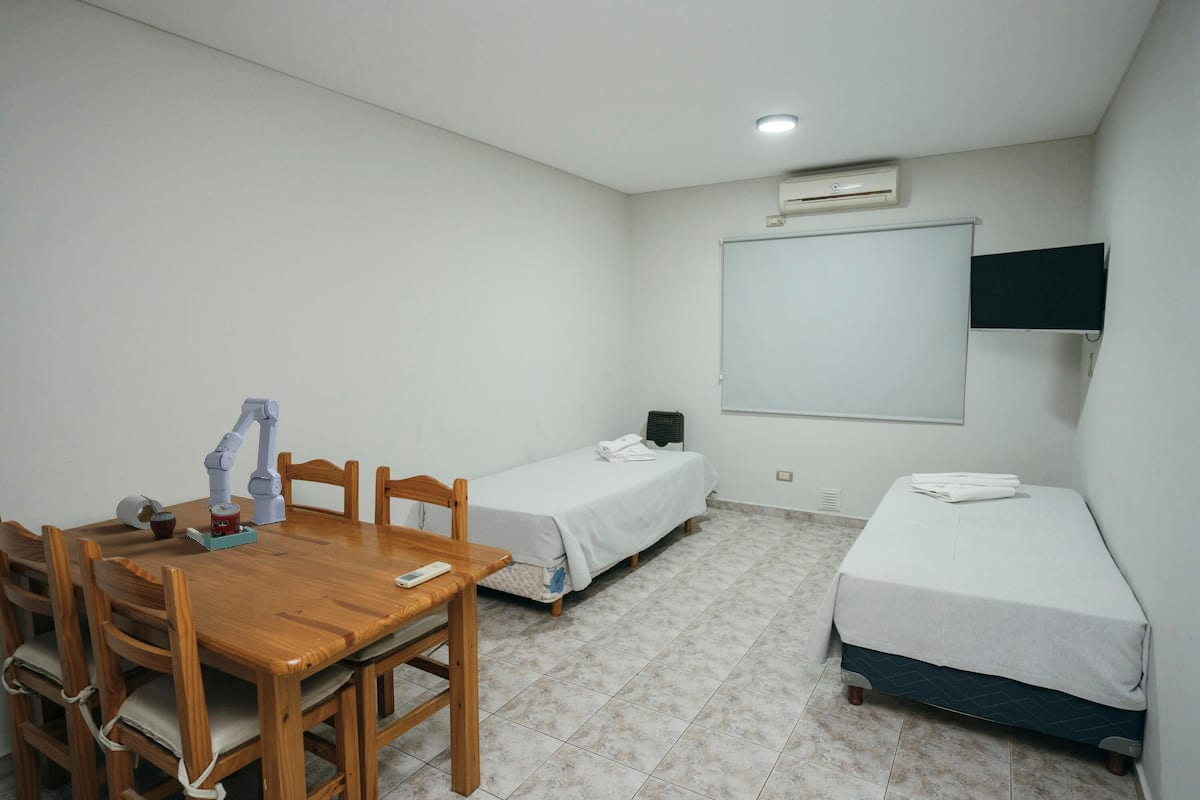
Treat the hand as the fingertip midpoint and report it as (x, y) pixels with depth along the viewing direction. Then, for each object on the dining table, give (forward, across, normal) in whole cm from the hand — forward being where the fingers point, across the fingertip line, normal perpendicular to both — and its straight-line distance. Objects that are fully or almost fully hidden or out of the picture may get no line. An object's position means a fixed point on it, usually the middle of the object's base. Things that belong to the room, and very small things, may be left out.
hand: (221, 530), depth 215 cm
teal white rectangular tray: (+3, 0, 0) cm, 3 cm away
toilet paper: (+3, -34, -14) cm, 37 cm away
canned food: (+2, +4, 0) cm, 4 cm away
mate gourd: (+3, -14, -13) cm, 19 cm away
